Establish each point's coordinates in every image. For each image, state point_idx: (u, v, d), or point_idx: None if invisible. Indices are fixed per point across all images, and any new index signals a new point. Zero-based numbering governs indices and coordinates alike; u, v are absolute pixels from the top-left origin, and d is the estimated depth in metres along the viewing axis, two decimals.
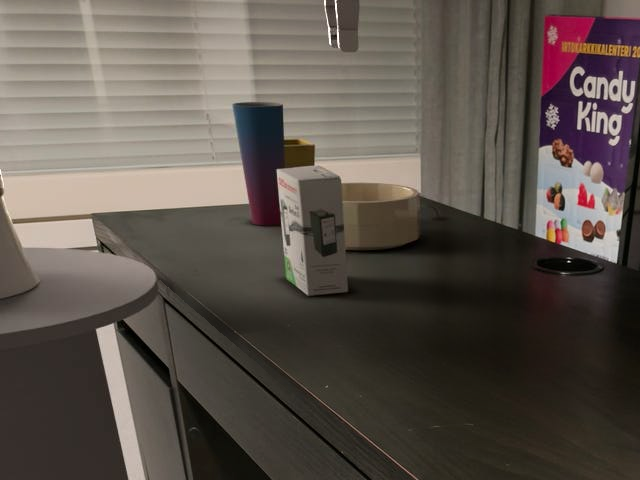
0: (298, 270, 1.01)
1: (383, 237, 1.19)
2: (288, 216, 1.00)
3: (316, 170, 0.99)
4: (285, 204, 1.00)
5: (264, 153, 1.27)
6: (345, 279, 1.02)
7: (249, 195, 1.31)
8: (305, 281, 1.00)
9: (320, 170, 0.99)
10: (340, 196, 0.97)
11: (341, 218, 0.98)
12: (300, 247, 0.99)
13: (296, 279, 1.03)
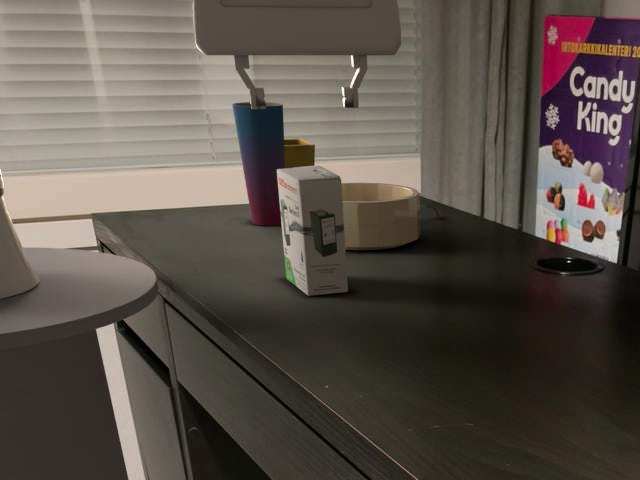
0: (298, 270, 1.01)
1: (383, 237, 1.19)
2: (288, 216, 1.00)
3: (316, 170, 0.99)
4: (285, 204, 1.00)
5: (264, 153, 1.27)
6: (345, 279, 1.02)
7: (249, 195, 1.31)
8: (305, 281, 1.00)
9: (320, 170, 0.99)
10: (340, 196, 0.97)
11: (341, 218, 0.98)
12: (300, 247, 0.99)
13: (296, 279, 1.03)
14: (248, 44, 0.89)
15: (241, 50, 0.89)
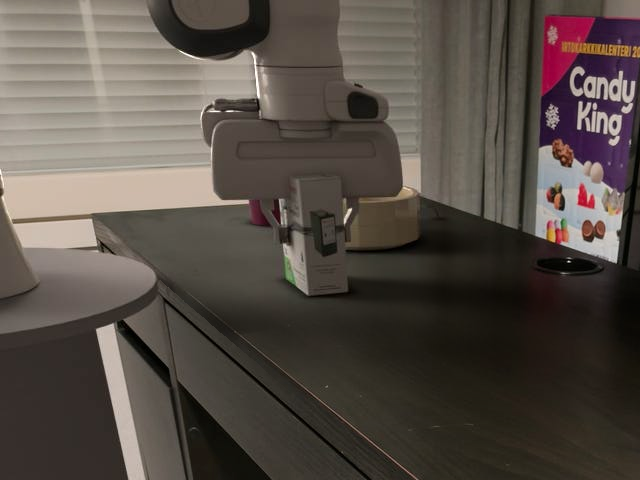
0: (298, 270, 1.01)
1: (383, 237, 1.19)
2: (288, 216, 1.00)
3: None
4: (285, 204, 1.00)
5: None
6: (345, 279, 1.02)
7: None
8: (306, 281, 1.00)
9: None
10: (340, 196, 0.97)
11: (341, 218, 0.98)
12: (300, 247, 0.99)
13: (296, 279, 1.03)
14: (262, 190, 0.97)
15: (255, 195, 0.97)
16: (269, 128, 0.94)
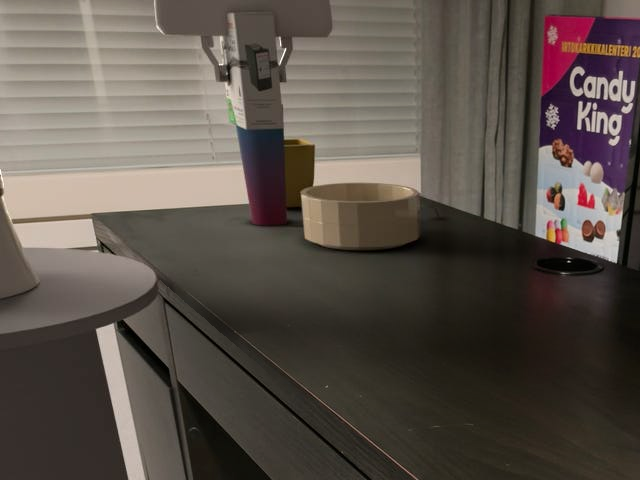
0: (237, 106, 1.10)
1: (383, 237, 1.19)
2: (227, 55, 1.09)
3: None
4: (224, 43, 1.09)
5: (264, 153, 1.27)
6: (281, 115, 1.11)
7: (249, 195, 1.31)
8: (243, 115, 1.09)
9: None
10: (273, 32, 1.06)
11: (275, 54, 1.07)
12: (238, 81, 1.08)
13: (236, 117, 1.12)
14: (201, 26, 1.06)
15: (195, 31, 1.06)
16: None
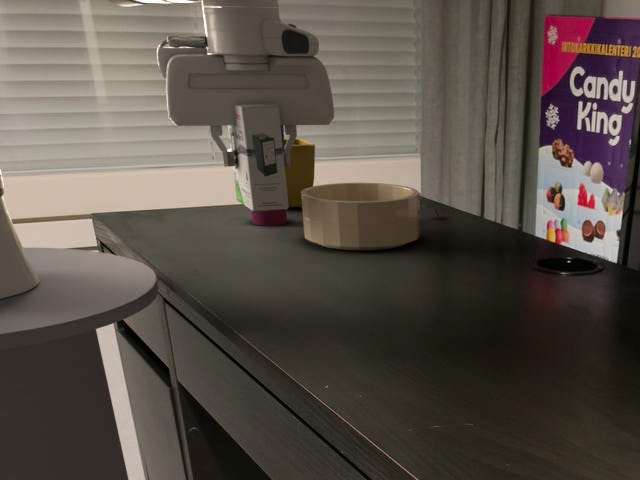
0: (245, 189, 1.17)
1: (383, 237, 1.19)
2: (235, 141, 1.15)
3: None
4: (232, 131, 1.15)
5: None
6: (285, 197, 1.17)
7: None
8: (250, 198, 1.16)
9: None
10: (278, 122, 1.12)
11: (280, 142, 1.14)
12: (245, 167, 1.14)
13: (243, 198, 1.19)
14: (211, 117, 1.12)
15: (205, 122, 1.12)
16: (215, 62, 1.09)
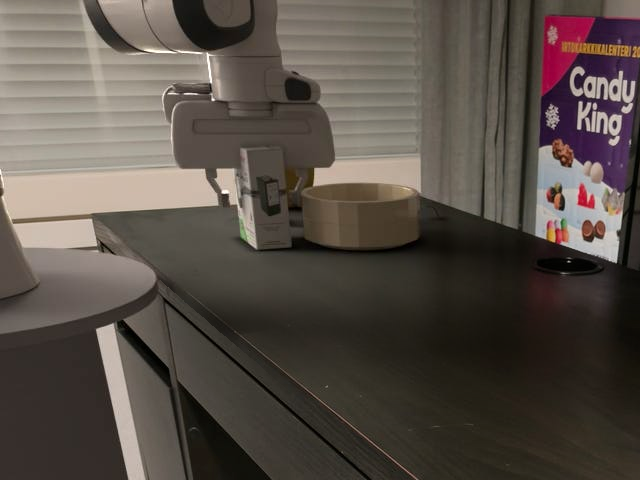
0: (249, 228, 1.20)
1: (383, 237, 1.19)
2: (240, 182, 1.18)
3: None
4: (237, 172, 1.18)
5: None
6: (289, 236, 1.20)
7: None
8: (254, 237, 1.18)
9: None
10: (282, 164, 1.15)
11: (283, 183, 1.16)
12: (249, 208, 1.17)
13: (247, 236, 1.21)
14: (215, 160, 1.15)
15: (209, 165, 1.15)
16: (220, 108, 1.12)
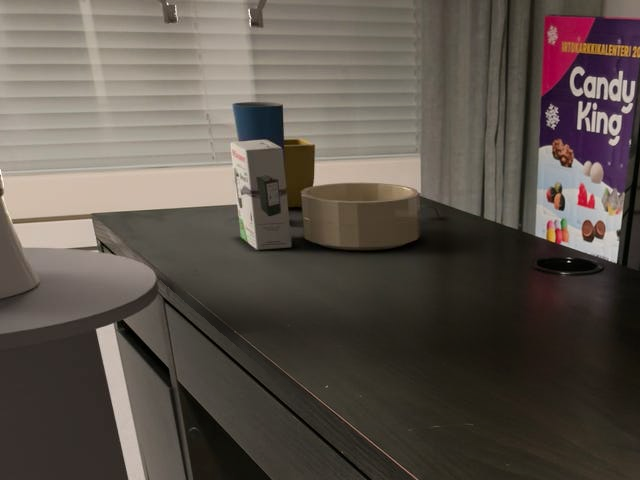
0: (249, 228, 1.20)
1: (383, 237, 1.19)
2: (240, 182, 1.18)
3: (263, 143, 1.18)
4: (237, 172, 1.18)
5: None
6: (289, 236, 1.20)
7: None
8: (254, 237, 1.18)
9: (266, 143, 1.17)
10: (282, 164, 1.15)
11: (283, 183, 1.16)
12: (249, 208, 1.17)
13: (247, 236, 1.21)
14: None
15: None
16: None
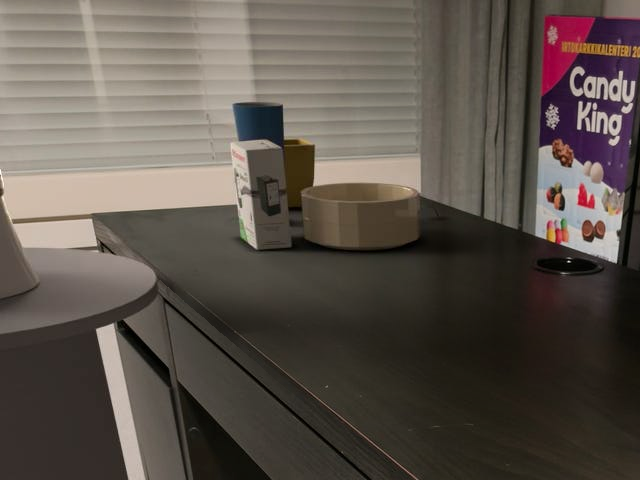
0: (249, 228, 1.20)
1: (383, 237, 1.19)
2: (240, 182, 1.18)
3: (263, 143, 1.18)
4: (237, 172, 1.18)
5: None
6: (289, 236, 1.20)
7: None
8: (254, 237, 1.18)
9: (266, 143, 1.17)
10: (282, 164, 1.15)
11: (283, 183, 1.16)
12: (249, 208, 1.17)
13: (247, 236, 1.21)
14: None
15: None
16: None
